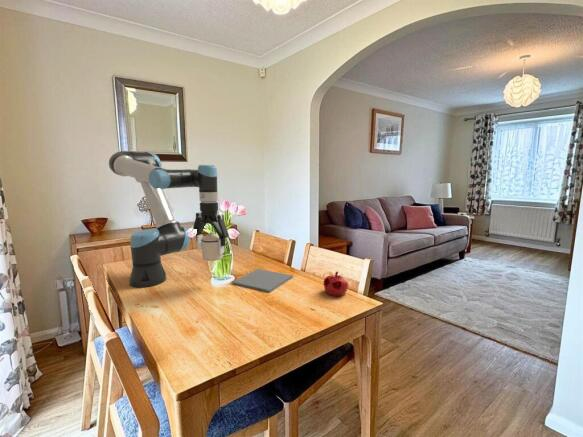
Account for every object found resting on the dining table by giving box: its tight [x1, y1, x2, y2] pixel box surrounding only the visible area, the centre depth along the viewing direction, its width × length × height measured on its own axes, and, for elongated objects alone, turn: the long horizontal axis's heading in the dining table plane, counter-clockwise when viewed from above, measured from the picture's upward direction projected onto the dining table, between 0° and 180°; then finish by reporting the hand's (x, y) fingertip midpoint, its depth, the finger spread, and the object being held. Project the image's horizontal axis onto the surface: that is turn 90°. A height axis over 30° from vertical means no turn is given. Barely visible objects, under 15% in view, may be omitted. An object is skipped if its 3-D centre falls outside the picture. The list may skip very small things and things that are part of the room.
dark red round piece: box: [323, 271, 349, 297], centre depth 121 cm, size 10×10×9 cm
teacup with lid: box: [201, 231, 224, 262], centre depth 128 cm, size 12×9×12 cm
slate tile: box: [232, 268, 294, 293], centre depth 136 cm, size 20×20×1 cm
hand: (210, 251), depth 129 cm, fingers closed on teacup with lid, 12 cm apart
